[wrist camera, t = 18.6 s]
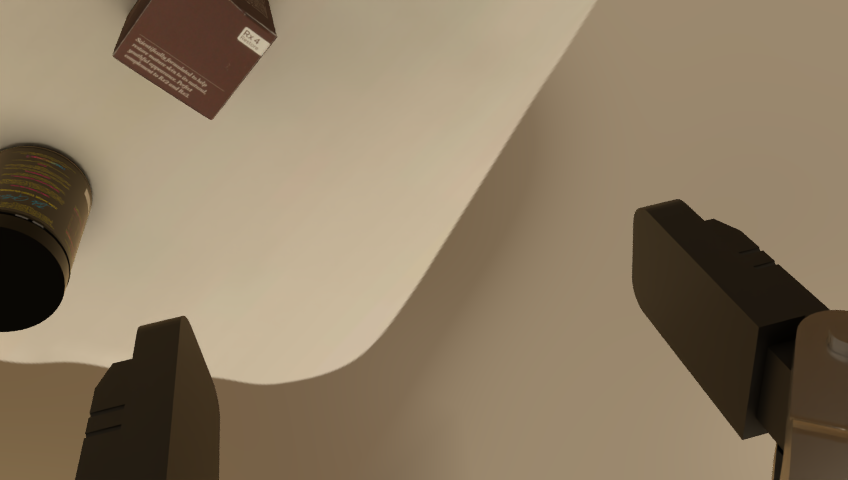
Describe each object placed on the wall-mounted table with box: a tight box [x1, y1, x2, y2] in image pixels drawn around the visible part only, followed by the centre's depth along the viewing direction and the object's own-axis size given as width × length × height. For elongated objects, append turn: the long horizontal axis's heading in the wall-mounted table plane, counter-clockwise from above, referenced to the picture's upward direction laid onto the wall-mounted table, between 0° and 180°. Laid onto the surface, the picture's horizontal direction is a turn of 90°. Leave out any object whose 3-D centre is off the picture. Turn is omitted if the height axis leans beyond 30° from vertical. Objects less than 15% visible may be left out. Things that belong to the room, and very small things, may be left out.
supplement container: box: [0, 146, 92, 332], centre depth 43 cm, size 7×7×10 cm
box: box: [113, 0, 277, 120], centre depth 41 cm, size 6×6×7 cm
